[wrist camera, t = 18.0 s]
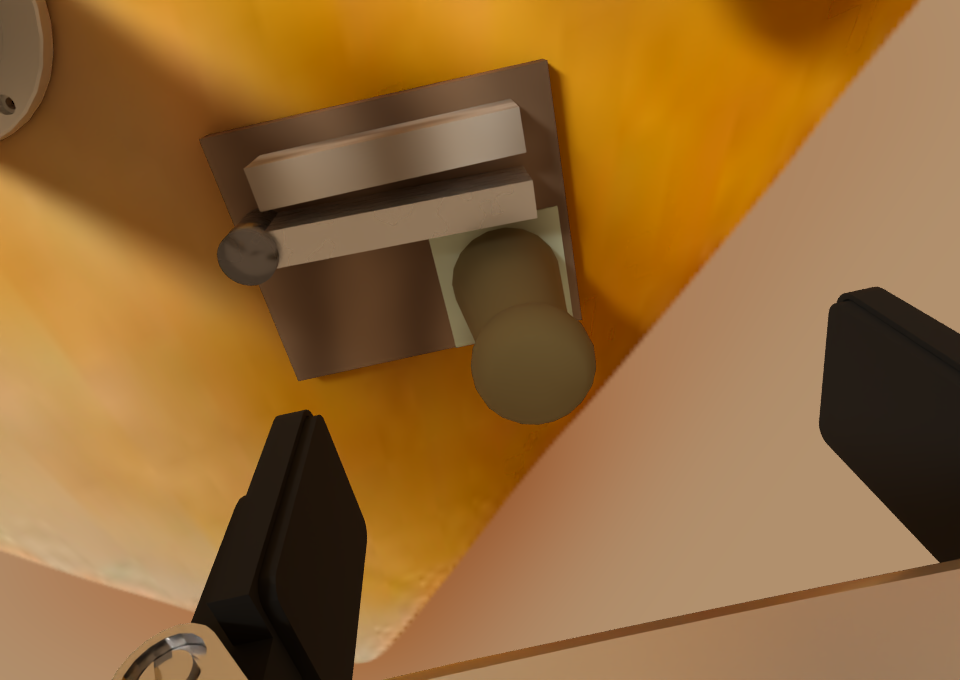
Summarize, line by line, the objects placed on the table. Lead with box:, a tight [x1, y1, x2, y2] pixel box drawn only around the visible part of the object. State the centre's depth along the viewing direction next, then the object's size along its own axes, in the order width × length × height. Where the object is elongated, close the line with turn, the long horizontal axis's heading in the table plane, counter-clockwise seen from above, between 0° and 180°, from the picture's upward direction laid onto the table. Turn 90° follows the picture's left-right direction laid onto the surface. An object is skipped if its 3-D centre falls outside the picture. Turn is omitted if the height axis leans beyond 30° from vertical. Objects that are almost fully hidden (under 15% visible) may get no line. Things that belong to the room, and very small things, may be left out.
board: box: [199, 59, 582, 381], centre depth 31 cm, size 17×14×4 cm
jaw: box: [217, 165, 538, 285], centre depth 29 cm, size 15×3×4 cm, turn 100°
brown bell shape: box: [452, 227, 596, 425], centre depth 29 cm, size 6×6×11 cm
